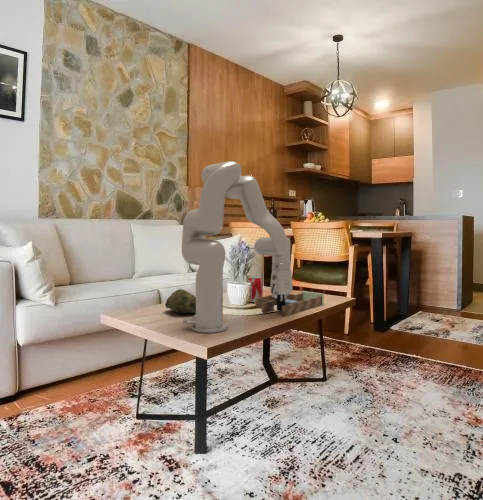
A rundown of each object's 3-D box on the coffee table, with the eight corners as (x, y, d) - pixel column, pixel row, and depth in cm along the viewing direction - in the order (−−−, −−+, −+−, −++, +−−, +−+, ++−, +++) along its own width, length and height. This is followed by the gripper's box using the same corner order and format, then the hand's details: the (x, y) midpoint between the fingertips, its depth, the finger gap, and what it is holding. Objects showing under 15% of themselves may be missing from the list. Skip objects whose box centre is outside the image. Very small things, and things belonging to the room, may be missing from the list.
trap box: (284, 316, 158) (284, 306, 158) (246, 309, 171) (246, 300, 171) (322, 304, 181) (322, 296, 181) (286, 299, 194) (286, 291, 193)
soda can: (261, 304, 183) (261, 278, 182) (246, 303, 185) (246, 277, 184) (263, 301, 190) (263, 276, 189) (249, 300, 191) (249, 275, 191)
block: (290, 312, 166) (290, 303, 166) (279, 310, 170) (279, 301, 170) (298, 310, 170) (298, 301, 170) (287, 308, 174) (287, 299, 174)
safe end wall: (322, 304, 181) (322, 294, 181) (300, 301, 188) (301, 291, 188) (323, 304, 182) (323, 293, 181) (302, 301, 189) (302, 290, 189)
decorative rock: (196, 311, 175) (198, 288, 176) (206, 316, 160) (207, 291, 161) (163, 310, 170) (164, 287, 171) (169, 315, 155) (171, 290, 156)
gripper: (277, 269, 157) (277, 314, 158) (298, 266, 168) (298, 308, 169) (263, 267, 162) (262, 312, 163) (284, 264, 173) (283, 306, 174)
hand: (280, 310), depth 166 cm, fingers closed
